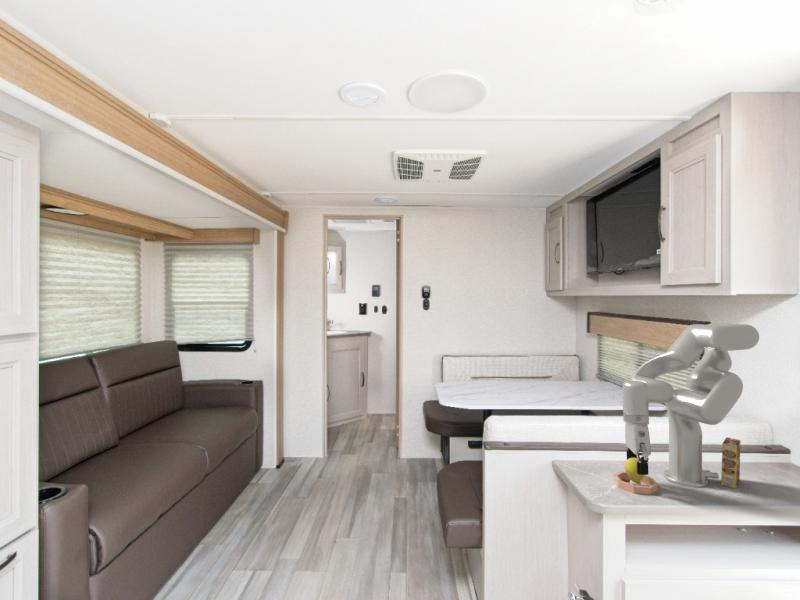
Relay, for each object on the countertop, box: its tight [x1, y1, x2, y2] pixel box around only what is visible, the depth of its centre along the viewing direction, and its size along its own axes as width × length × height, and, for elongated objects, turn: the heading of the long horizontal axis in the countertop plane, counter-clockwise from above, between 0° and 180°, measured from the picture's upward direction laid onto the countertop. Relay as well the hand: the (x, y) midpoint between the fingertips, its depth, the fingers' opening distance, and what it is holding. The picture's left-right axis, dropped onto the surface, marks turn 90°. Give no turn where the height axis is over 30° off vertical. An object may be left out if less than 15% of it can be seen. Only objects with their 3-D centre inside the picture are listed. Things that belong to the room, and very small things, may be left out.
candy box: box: [720, 437, 742, 489], centre depth 138 cm, size 9×4×15 cm, turn 134°
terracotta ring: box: [613, 470, 659, 495], centre depth 136 cm, size 12×12×3 cm
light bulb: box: [623, 458, 645, 486], centre depth 136 cm, size 7×7×10 cm
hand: (637, 468), depth 136 cm, fingers open, 9 cm apart
